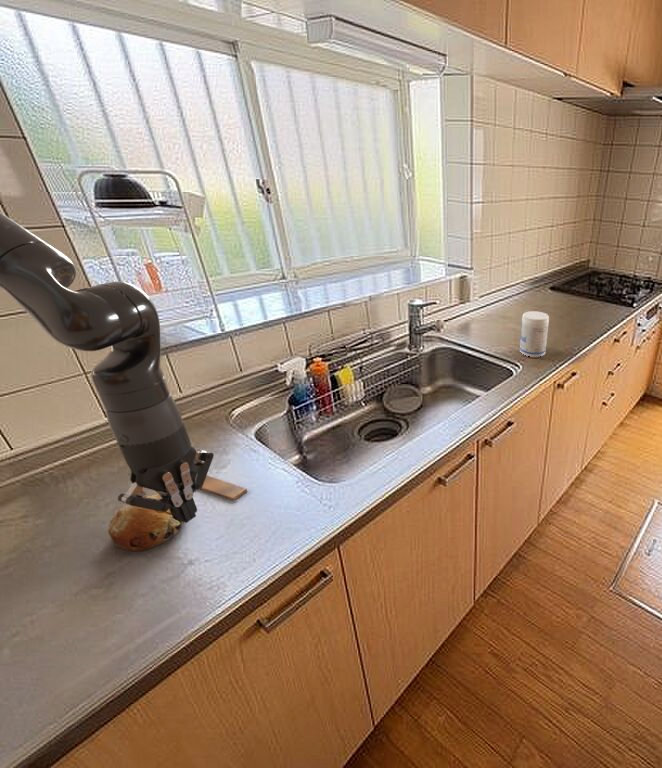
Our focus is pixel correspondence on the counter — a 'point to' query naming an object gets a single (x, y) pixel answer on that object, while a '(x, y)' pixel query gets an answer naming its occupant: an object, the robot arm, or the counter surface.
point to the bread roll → (142, 527)
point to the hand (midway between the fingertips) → (187, 518)
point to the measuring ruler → (222, 488)
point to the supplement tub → (534, 334)
